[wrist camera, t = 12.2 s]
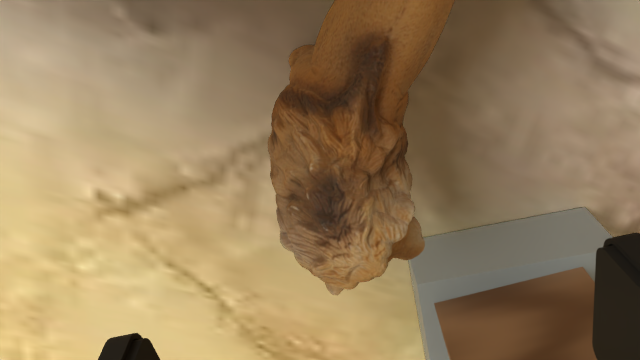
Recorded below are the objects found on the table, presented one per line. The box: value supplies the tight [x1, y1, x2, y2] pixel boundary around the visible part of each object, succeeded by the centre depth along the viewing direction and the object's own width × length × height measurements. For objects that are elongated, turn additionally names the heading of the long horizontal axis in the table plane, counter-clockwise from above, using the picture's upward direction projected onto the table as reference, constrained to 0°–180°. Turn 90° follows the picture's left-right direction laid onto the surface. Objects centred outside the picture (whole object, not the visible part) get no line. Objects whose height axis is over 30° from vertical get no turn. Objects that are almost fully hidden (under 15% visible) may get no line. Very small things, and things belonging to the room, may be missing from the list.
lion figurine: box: [268, 0, 455, 295], centre depth 14 cm, size 15×5×9 cm, turn 164°
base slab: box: [408, 207, 613, 360], centre depth 24 cm, size 8×14×3 cm, turn 13°
